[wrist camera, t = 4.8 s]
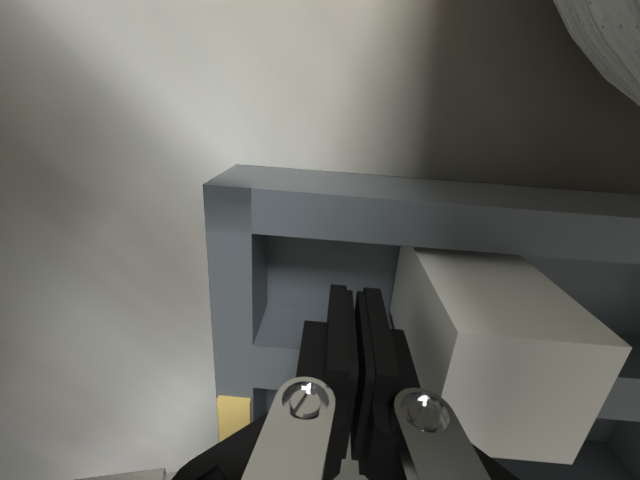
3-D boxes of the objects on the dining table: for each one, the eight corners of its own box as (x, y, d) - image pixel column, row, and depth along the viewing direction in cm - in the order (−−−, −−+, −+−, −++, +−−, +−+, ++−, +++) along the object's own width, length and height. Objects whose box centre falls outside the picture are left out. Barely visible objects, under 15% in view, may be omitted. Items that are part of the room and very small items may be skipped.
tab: (389, 309, 16) (426, 451, 9) (403, 229, 14) (458, 333, 8) (475, 316, 16) (572, 464, 9) (497, 237, 14) (631, 347, 8)
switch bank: (244, 489, 23) (225, 568, 19) (236, 164, 15) (200, 186, 11) (570, 519, 23) (619, 607, 19) (747, 203, 14) (902, 240, 10)
